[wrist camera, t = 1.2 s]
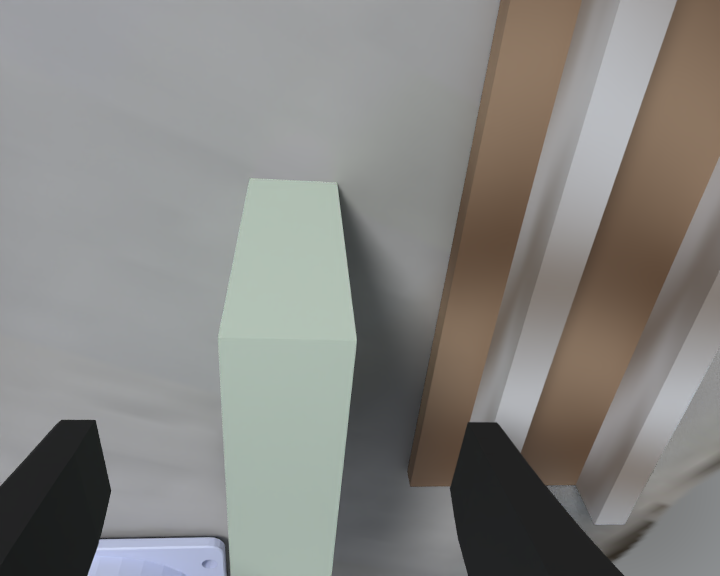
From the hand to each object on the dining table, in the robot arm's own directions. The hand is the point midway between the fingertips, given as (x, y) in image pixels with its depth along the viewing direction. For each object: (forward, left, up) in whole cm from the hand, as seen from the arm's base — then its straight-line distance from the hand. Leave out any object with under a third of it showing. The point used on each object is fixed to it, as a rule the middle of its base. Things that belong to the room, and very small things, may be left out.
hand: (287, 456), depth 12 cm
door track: (+2, -8, -5) cm, 9 cm away
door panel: (0, 0, -5) cm, 5 cm away
